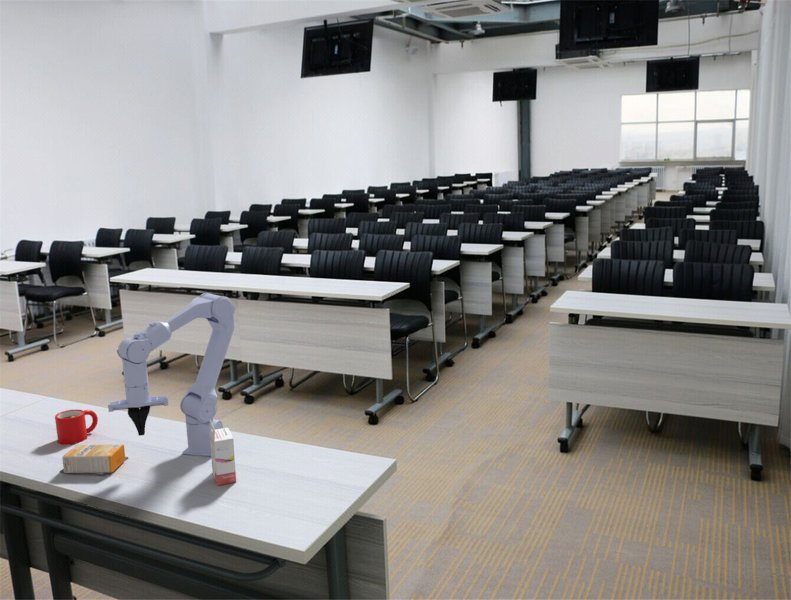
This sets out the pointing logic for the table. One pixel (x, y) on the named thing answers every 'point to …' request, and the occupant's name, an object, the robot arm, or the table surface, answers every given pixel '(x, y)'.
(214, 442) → the ink cartridge box
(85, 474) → the mat
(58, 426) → the mug
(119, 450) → the supplement box
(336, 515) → the table surface
